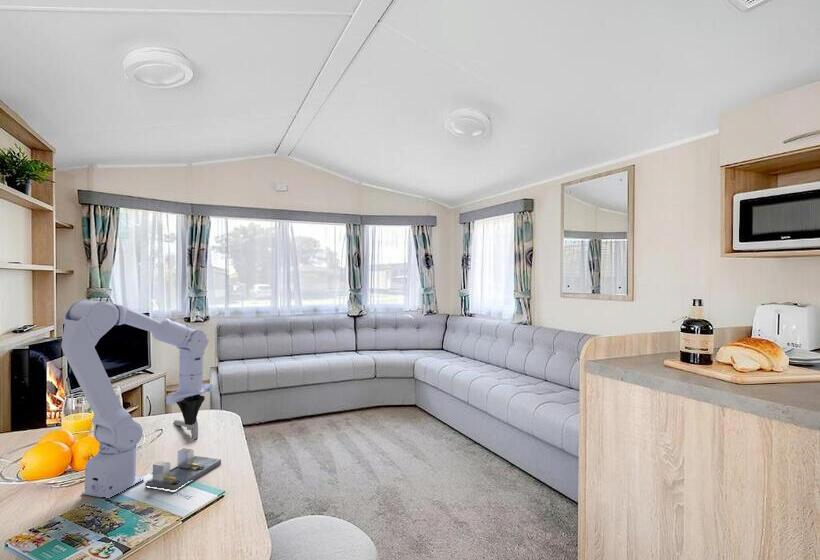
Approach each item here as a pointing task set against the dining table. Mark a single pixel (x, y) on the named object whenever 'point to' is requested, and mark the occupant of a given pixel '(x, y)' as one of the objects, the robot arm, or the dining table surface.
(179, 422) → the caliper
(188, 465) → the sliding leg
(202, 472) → the gauge plate
